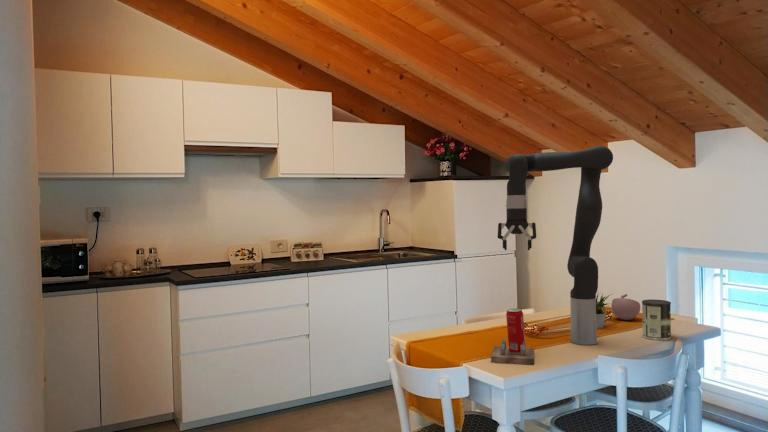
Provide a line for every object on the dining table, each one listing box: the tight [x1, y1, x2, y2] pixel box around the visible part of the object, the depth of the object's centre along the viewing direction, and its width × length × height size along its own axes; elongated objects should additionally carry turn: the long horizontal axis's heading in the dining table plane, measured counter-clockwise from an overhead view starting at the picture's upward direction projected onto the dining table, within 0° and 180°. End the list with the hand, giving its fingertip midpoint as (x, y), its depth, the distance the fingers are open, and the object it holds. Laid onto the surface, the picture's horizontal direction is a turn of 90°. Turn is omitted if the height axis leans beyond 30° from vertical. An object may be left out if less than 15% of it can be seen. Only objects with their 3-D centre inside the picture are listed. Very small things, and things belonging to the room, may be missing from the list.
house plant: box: [596, 292, 613, 329], centre depth 243 cm, size 14×14×16 cm
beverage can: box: [505, 308, 527, 354], centre depth 198 cm, size 6×6×15 cm
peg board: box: [490, 338, 535, 366], centre depth 198 cm, size 14×14×6 cm
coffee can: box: [641, 299, 672, 341], centre depth 223 cm, size 10×10×14 cm
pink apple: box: [610, 293, 641, 321], centre depth 255 cm, size 12×12×12 cm
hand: (517, 250), depth 215 cm, fingers open, 8 cm apart
